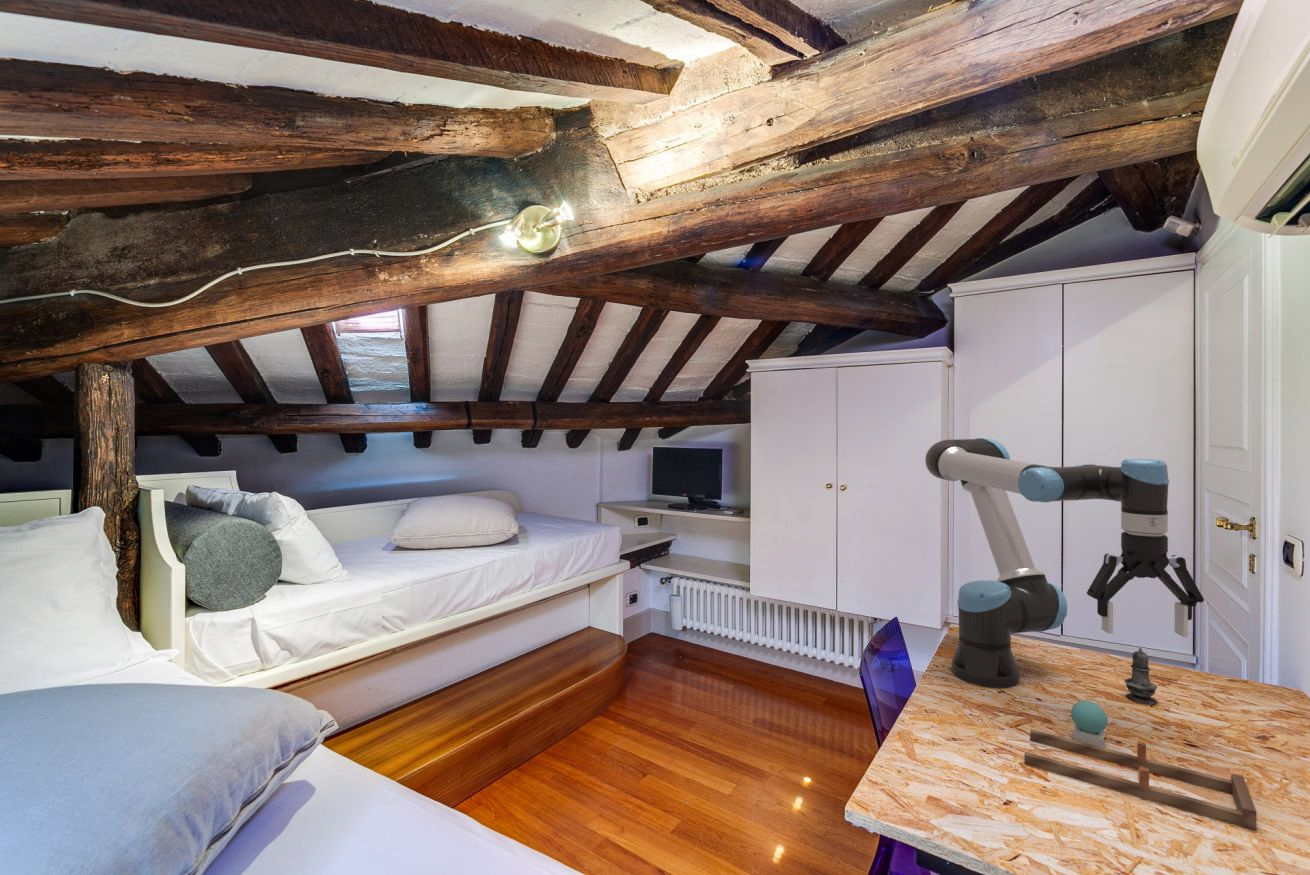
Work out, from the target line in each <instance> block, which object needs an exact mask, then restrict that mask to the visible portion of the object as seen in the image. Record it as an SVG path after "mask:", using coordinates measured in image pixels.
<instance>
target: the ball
mask: <svg viewBox="0 0 1310 875" xmlns="http://www.w3.org/2000/svg"><path fill="white" fill-rule="evenodd" d="M1070 715H1071V719H1072V721H1073V722H1074V725H1075V724H1076V725H1077V726H1078V727H1079V728H1080V729H1082V730H1083V731H1086V732H1089V733H1099V732H1101V731H1103V730H1104V731H1105V729H1106V728H1107V726H1108V722H1109V721H1108V716H1107V713H1106V712H1105V711H1104V709H1103V707H1101V706H1100V705H1099V704H1097V703H1095V702H1093V701H1090V700H1079V701H1077V702H1076V703H1074V704H1073V705H1072V707H1071V711H1070Z"/></svg>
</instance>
